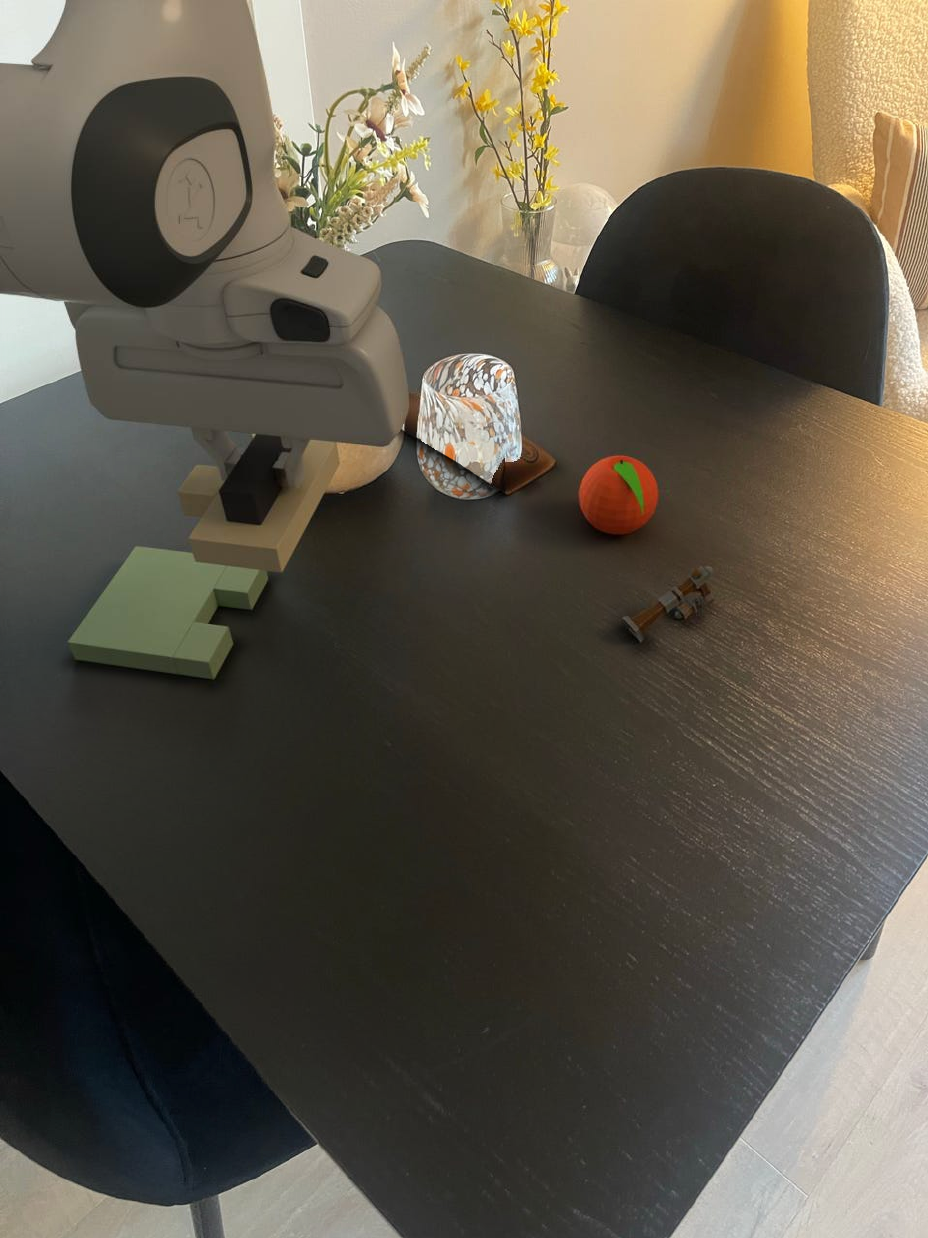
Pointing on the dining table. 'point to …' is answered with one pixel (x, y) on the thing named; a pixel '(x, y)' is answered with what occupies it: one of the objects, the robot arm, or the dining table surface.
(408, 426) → the dark brown wedge
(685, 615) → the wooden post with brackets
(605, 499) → the clementine
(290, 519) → the cream pad
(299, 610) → the dining table surface
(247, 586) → the green pad
